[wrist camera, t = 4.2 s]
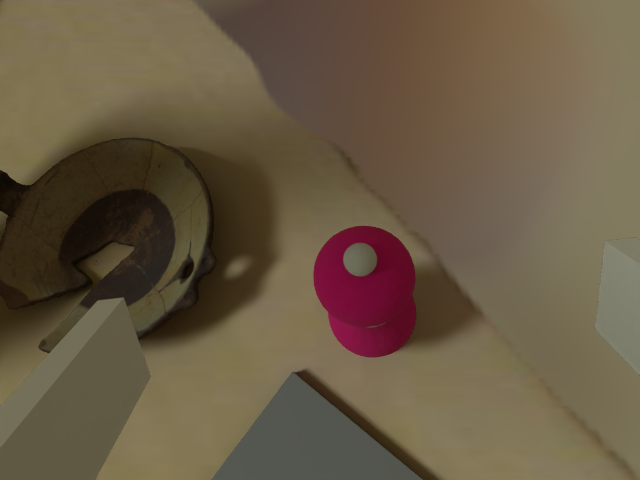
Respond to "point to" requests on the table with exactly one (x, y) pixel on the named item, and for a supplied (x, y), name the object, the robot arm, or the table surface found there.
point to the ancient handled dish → (109, 232)
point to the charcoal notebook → (309, 443)
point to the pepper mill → (367, 290)
